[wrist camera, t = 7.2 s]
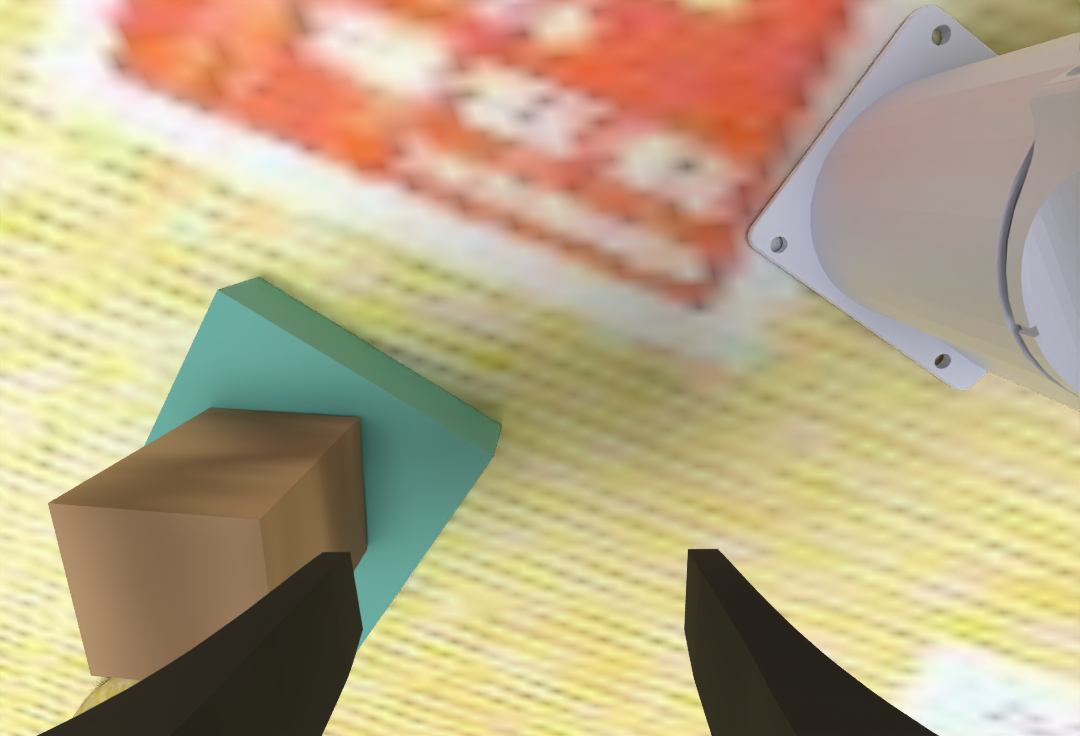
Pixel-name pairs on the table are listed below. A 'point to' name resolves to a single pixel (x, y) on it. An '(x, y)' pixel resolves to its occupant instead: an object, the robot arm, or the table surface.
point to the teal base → (342, 390)
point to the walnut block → (204, 529)
